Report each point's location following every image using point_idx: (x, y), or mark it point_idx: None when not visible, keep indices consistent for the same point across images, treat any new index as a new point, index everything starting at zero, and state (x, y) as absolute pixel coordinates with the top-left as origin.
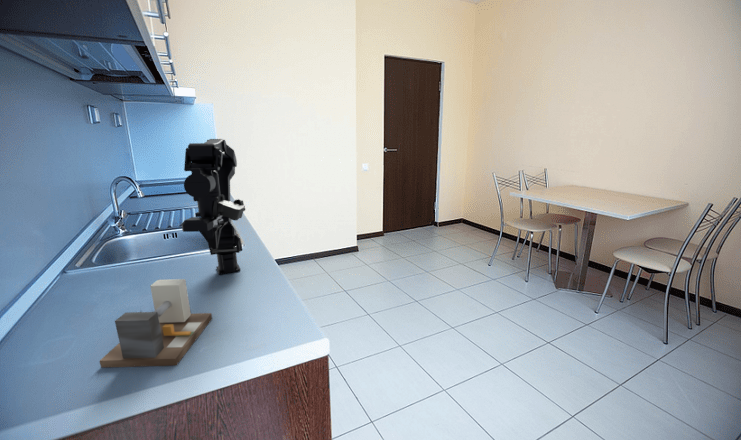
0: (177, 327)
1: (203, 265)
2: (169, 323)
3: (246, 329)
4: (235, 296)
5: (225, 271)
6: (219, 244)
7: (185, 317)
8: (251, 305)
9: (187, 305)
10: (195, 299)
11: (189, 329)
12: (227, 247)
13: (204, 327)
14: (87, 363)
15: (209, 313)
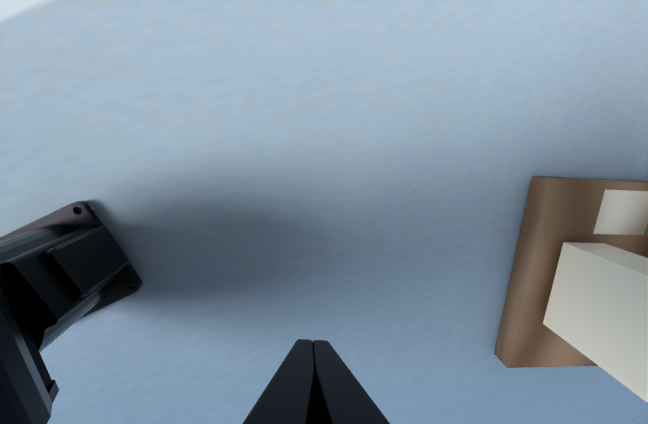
0: None
1: None
2: None
3: (627, 29)
4: (367, 143)
5: (126, 263)
6: (13, 387)
7: (607, 247)
8: (457, 51)
9: (620, 259)
10: (371, 288)
11: (638, 211)
12: (7, 313)
13: (591, 179)
14: None
15: (551, 185)
